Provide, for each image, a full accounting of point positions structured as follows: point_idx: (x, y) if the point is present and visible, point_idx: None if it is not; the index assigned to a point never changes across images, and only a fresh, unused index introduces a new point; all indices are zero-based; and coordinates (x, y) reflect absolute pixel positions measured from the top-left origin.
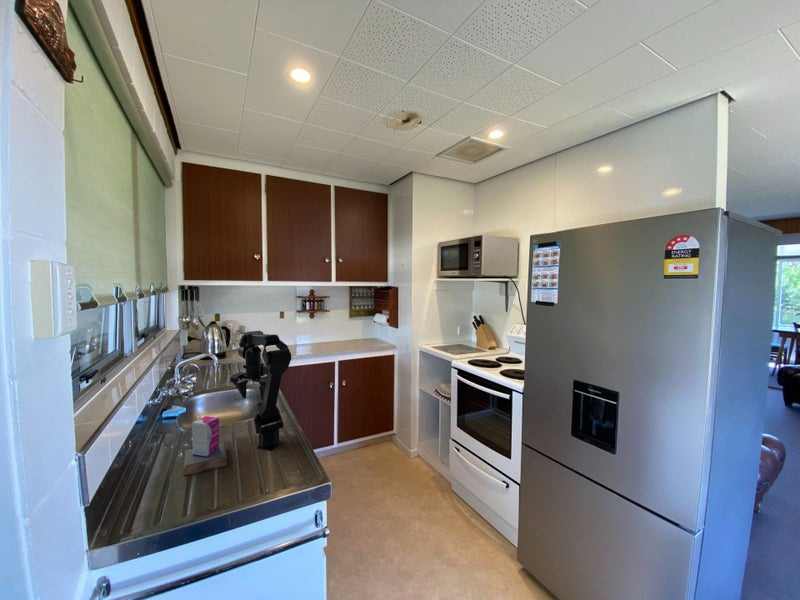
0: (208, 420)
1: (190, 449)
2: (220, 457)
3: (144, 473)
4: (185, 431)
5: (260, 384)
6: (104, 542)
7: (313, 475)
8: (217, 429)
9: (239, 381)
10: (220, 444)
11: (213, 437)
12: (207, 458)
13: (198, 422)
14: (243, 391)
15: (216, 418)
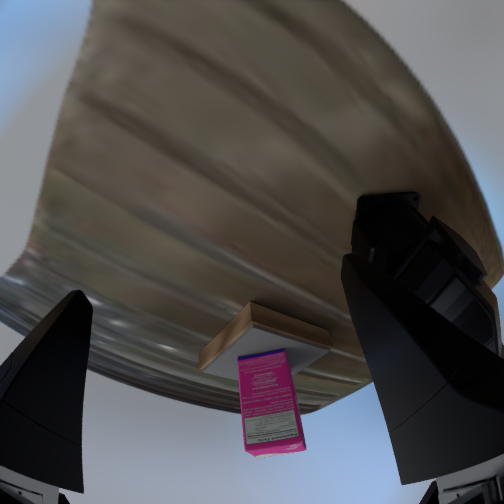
0: (289, 450)
1: (208, 368)
2: (320, 355)
3: (194, 386)
4: (29, 283)
5: (430, 497)
6: (307, 412)
7: (497, 267)
8: (297, 410)
9: (52, 498)
10: (260, 336)
11: (296, 399)
12: (294, 368)
13: (273, 455)
14: (67, 381)
15: (299, 444)
